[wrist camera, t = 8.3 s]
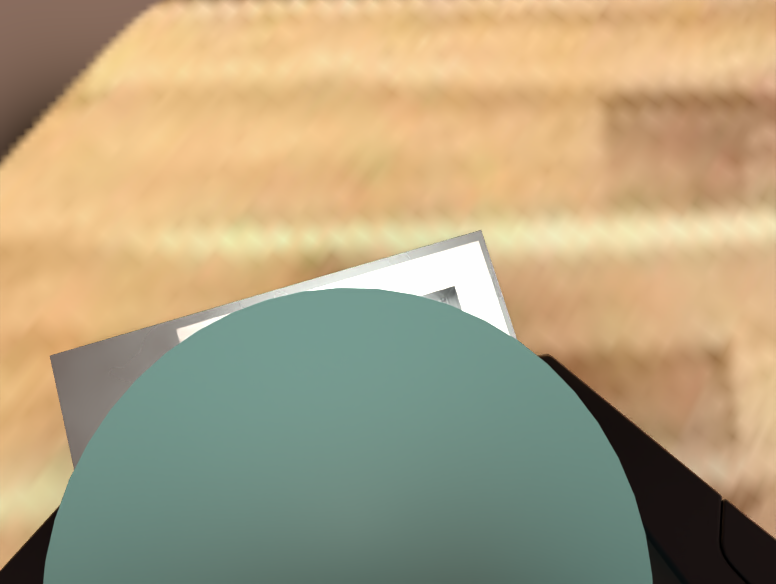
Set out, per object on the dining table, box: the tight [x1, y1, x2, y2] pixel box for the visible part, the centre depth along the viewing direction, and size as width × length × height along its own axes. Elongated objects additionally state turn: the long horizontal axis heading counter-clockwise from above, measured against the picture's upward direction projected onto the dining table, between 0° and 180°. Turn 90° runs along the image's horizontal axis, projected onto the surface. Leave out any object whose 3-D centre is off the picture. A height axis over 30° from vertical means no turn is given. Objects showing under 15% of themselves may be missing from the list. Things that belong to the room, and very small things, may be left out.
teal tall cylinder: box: [43, 288, 653, 584], centre depth 11 cm, size 5×5×13 cm
